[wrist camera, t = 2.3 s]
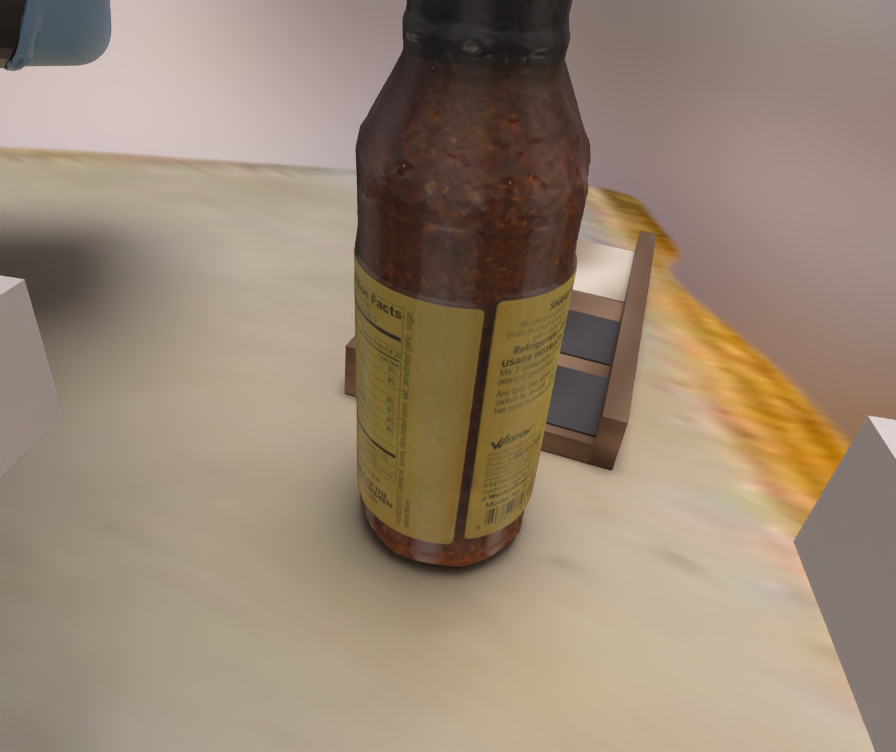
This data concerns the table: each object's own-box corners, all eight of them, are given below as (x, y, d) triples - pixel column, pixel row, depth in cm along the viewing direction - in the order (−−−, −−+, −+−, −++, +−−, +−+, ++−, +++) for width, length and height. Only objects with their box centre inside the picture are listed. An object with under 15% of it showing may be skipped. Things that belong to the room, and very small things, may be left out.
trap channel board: (344, 393, 30) (345, 346, 28) (473, 230, 46) (478, 195, 45) (611, 469, 27) (627, 422, 26) (645, 269, 44) (656, 234, 43)
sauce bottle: (506, 452, 27) (635, -159, 16) (540, 577, 22) (763, -185, 11) (346, 452, 26) (363, -201, 15) (345, 582, 21) (367, -250, 10)
